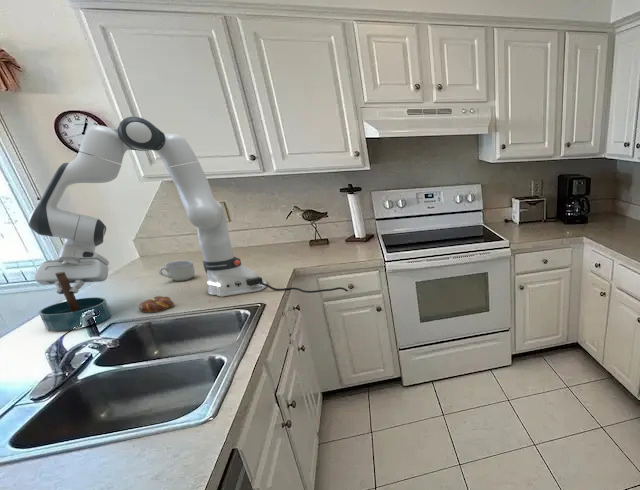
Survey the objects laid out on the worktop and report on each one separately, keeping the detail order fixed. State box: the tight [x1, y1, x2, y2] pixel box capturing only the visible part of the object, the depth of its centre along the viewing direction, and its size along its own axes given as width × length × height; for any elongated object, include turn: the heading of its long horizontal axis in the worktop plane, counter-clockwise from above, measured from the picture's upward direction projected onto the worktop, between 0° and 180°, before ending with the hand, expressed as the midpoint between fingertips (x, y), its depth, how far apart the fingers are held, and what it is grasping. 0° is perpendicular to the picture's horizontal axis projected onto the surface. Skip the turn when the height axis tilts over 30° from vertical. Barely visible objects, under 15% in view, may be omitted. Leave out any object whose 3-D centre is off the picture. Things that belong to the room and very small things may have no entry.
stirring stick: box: [55, 272, 81, 312], centre depth 145 cm, size 4×4×16 cm
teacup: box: [158, 259, 196, 282], centre depth 194 cm, size 14×11×8 cm
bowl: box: [38, 296, 112, 332], centre depth 148 cm, size 17×17×6 cm
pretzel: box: [137, 295, 175, 313], centre depth 161 cm, size 12×11×4 cm
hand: (67, 293), depth 144 cm, fingers closed on stirring stick, 2 cm apart
